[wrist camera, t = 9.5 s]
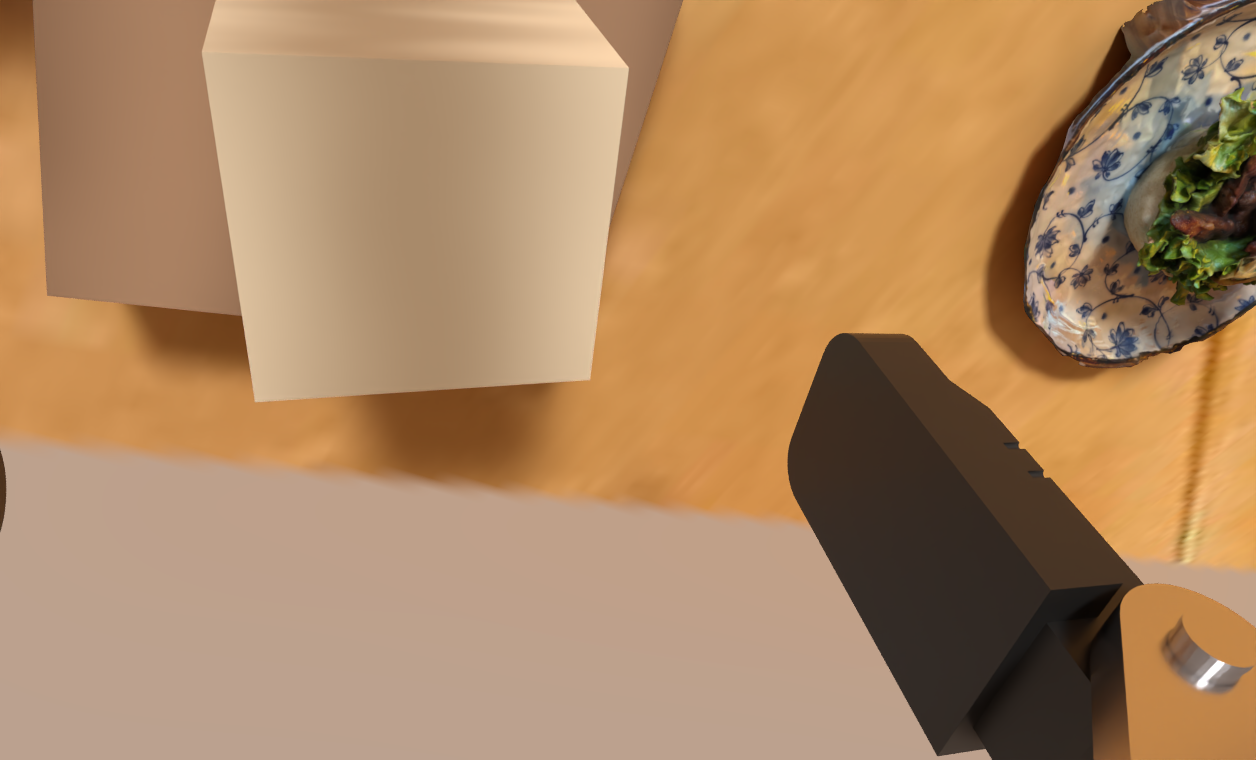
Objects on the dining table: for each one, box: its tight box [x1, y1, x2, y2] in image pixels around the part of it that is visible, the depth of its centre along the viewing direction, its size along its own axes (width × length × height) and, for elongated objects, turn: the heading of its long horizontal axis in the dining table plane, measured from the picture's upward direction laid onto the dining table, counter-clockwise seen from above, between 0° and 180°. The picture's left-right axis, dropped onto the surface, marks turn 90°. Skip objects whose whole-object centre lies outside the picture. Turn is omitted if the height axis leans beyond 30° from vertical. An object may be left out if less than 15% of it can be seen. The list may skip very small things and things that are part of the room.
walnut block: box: [33, 0, 683, 316], centre depth 17 cm, size 10×10×4 cm
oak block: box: [202, 0, 629, 402], centre depth 13 cm, size 4×4×6 cm
